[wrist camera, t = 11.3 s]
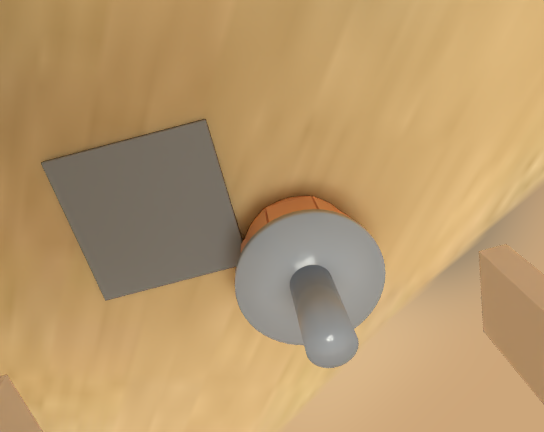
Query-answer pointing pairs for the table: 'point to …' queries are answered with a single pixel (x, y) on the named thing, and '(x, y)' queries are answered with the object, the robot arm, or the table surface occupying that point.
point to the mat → (148, 209)
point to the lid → (311, 282)
